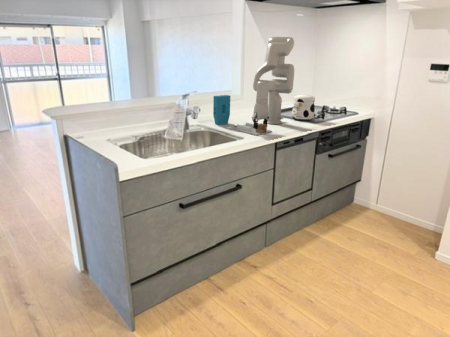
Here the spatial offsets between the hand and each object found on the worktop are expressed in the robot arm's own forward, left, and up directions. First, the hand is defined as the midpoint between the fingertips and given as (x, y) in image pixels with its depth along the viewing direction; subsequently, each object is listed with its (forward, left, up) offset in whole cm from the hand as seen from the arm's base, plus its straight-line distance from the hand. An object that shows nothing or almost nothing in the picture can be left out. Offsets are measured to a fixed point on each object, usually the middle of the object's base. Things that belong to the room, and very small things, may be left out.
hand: (260, 127), depth 218 cm
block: (+1, -36, -4) cm, 36 cm away
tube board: (0, -9, -4) cm, 9 cm away
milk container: (-60, -7, -4) cm, 61 cm away
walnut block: (0, +1, -3) cm, 3 cm away
